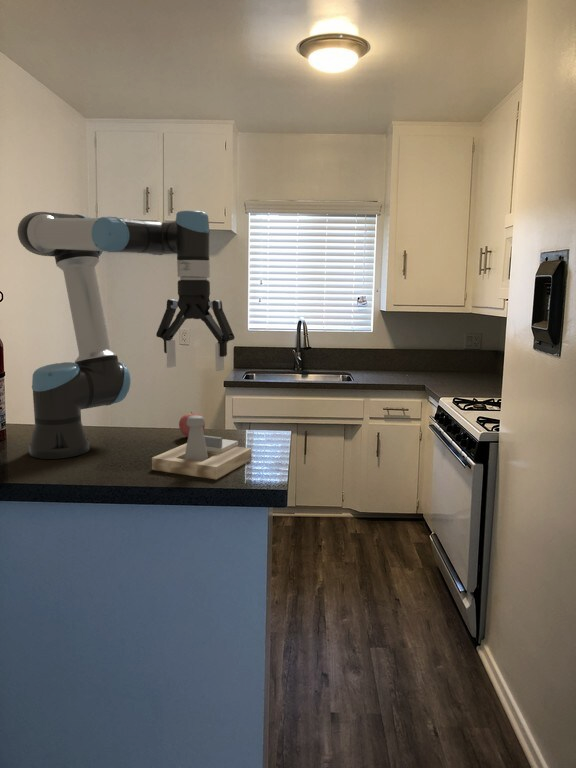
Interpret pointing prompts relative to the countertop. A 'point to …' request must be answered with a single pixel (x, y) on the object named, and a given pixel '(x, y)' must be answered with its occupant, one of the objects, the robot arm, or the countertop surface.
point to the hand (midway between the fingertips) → (195, 368)
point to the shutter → (219, 444)
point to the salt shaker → (196, 440)
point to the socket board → (209, 468)
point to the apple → (183, 424)
